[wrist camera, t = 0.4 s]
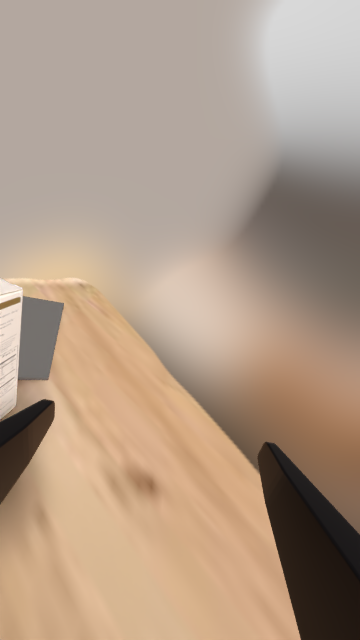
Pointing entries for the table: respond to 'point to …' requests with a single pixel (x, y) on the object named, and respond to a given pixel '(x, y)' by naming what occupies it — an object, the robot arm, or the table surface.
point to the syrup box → (9, 343)
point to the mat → (38, 337)
